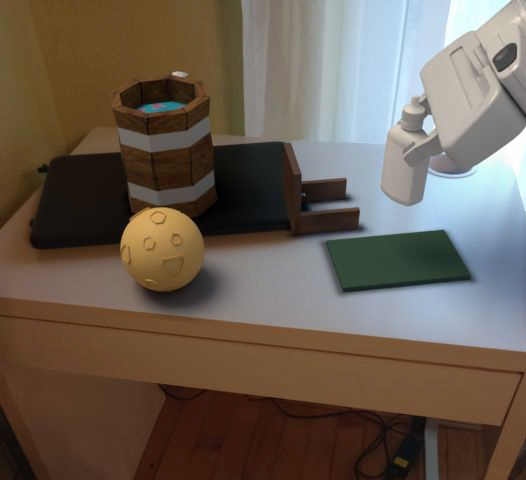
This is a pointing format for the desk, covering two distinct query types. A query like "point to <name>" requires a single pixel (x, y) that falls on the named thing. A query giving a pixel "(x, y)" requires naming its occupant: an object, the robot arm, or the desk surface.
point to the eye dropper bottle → (394, 167)
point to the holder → (314, 192)
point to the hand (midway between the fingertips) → (403, 145)
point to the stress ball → (162, 249)
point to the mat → (396, 260)
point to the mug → (166, 143)
